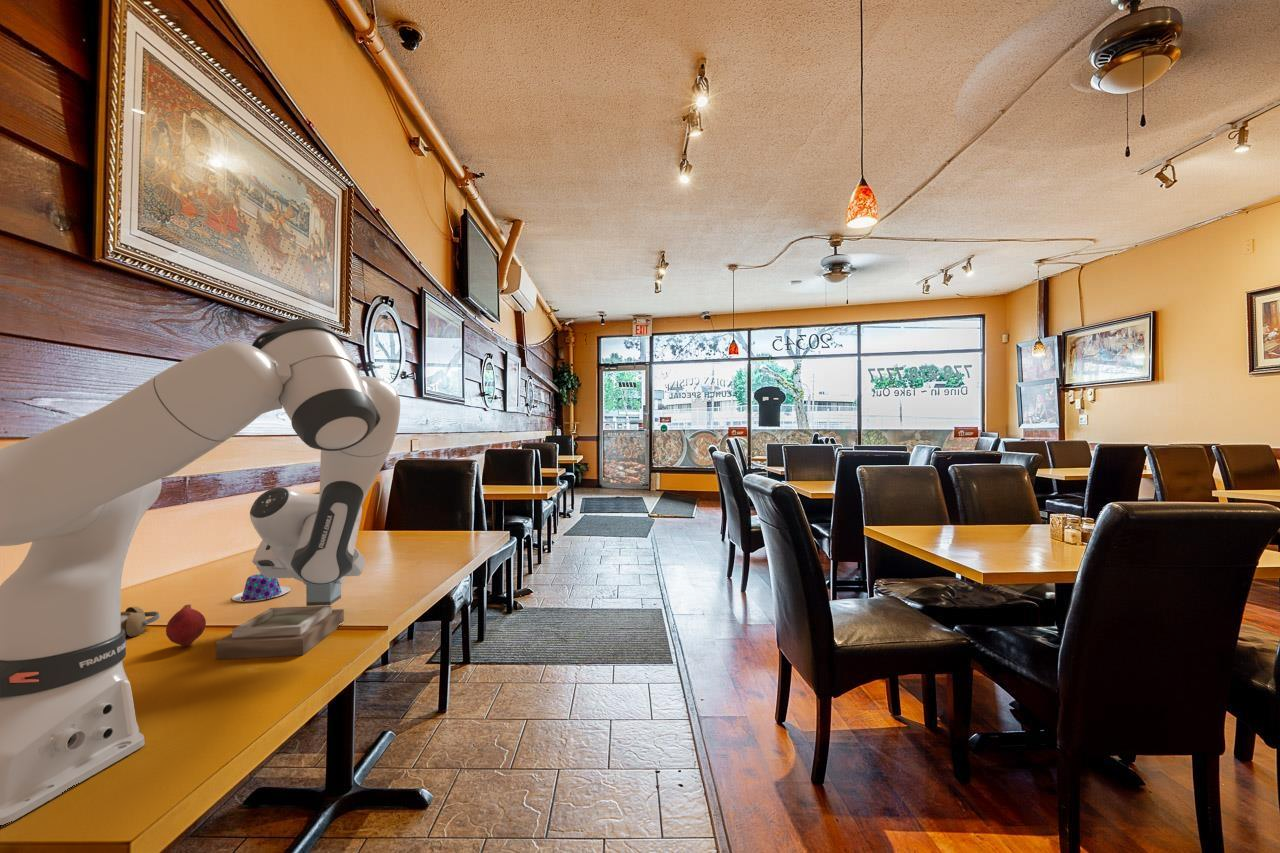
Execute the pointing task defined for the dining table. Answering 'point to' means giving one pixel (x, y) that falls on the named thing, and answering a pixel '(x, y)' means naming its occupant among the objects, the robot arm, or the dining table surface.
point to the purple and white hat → (260, 588)
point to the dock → (280, 632)
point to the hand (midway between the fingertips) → (325, 581)
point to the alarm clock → (136, 620)
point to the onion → (185, 626)
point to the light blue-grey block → (322, 594)
